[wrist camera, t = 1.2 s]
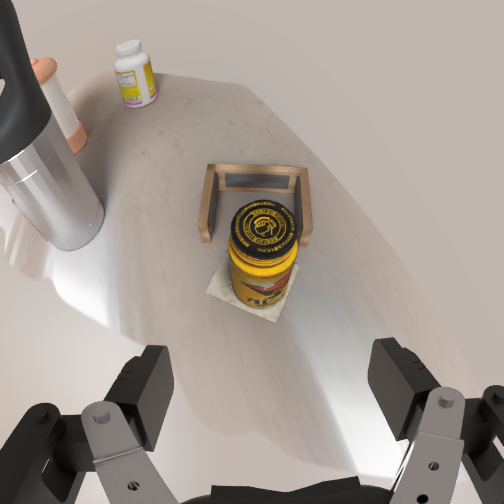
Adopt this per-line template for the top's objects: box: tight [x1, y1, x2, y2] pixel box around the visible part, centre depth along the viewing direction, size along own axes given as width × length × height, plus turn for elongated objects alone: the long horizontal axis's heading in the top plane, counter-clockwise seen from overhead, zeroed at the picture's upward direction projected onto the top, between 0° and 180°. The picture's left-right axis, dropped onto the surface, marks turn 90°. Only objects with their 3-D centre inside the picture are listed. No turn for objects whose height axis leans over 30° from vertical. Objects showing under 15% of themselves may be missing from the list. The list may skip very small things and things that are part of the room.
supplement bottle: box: [114, 40, 157, 108], centre depth 46 cm, size 7×7×13 cm
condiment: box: [205, 200, 300, 322], centre depth 29 cm, size 7×8×12 cm
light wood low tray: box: [198, 164, 313, 246], centre depth 37 cm, size 12×9×4 cm
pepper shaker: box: [30, 57, 87, 154], centre depth 38 cm, size 7×7×19 cm
